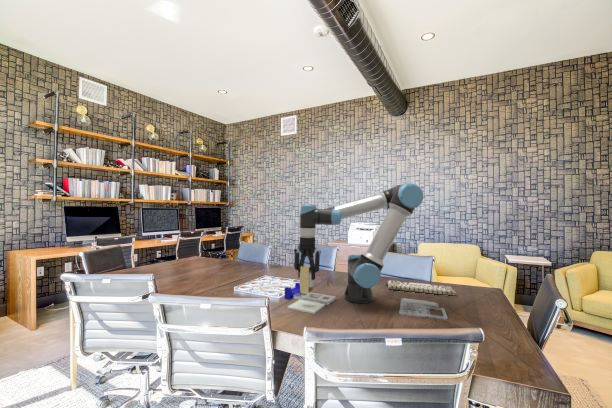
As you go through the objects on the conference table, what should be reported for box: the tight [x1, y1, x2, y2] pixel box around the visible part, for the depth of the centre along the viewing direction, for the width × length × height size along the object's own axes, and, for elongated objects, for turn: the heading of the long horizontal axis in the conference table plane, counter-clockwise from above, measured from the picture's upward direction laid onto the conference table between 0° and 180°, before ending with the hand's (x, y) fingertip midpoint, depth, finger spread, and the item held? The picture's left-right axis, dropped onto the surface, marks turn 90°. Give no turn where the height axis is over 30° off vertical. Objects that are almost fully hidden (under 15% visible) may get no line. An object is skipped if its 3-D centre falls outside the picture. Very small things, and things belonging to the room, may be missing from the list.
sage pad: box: [286, 299, 326, 315], centre depth 135 cm, size 14×12×1 cm
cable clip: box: [284, 282, 300, 300], centre depth 152 cm, size 12×4×6 cm, turn 150°
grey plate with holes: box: [292, 291, 337, 306], centre depth 147 cm, size 20×10×2 cm, turn 63°
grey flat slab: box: [398, 297, 448, 321], centre depth 135 cm, size 23×3×20 cm
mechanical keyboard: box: [385, 279, 458, 297], centre depth 167 cm, size 38×19×3 cm, turn 75°
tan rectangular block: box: [299, 264, 314, 293], centre depth 135 cm, size 4×4×12 cm
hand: (306, 285), depth 135 cm, fingers closed on tan rectangular block, 4 cm apart
